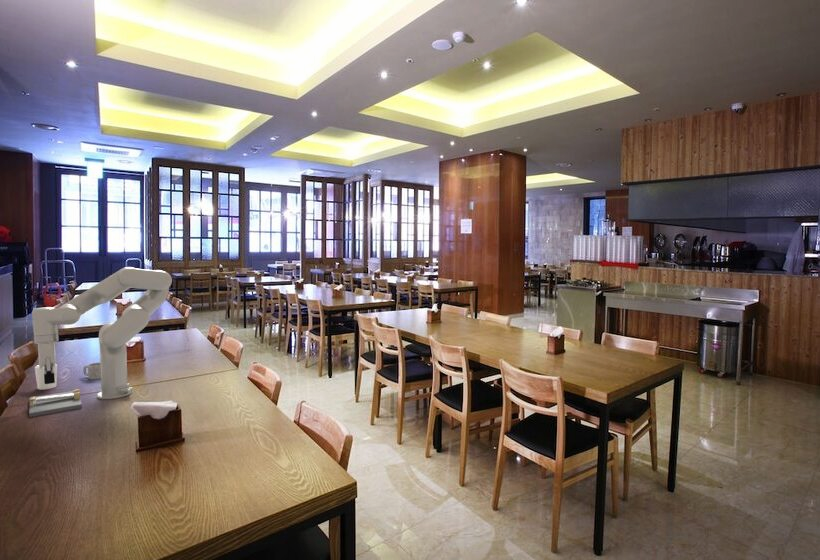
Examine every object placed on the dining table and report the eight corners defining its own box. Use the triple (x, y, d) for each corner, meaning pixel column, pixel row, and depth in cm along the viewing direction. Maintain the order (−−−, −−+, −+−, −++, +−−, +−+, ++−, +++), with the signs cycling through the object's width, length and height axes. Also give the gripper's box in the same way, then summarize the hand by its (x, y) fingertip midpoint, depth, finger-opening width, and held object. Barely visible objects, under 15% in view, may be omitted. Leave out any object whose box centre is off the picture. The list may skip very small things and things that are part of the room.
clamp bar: (78, 395, 188) (78, 392, 188) (79, 397, 186) (79, 394, 186) (36, 400, 179) (36, 396, 179) (36, 402, 177) (36, 399, 177)
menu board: (78, 393, 196) (77, 384, 195) (81, 407, 179) (81, 397, 178) (30, 401, 186) (29, 391, 185) (29, 417, 169) (28, 406, 168)
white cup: (48, 390, 199) (47, 368, 199) (31, 390, 200) (29, 368, 199) (62, 384, 207) (61, 363, 206) (45, 384, 207) (44, 363, 207)
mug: (108, 375, 222) (107, 362, 222) (97, 379, 216) (97, 366, 215) (89, 375, 223) (89, 362, 223) (78, 379, 217) (77, 365, 216)
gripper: (34, 336, 182) (37, 380, 184) (33, 342, 171) (37, 389, 172) (57, 334, 187) (60, 377, 189) (58, 340, 176) (62, 385, 177)
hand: (49, 383), depth 181 cm, fingers closed
